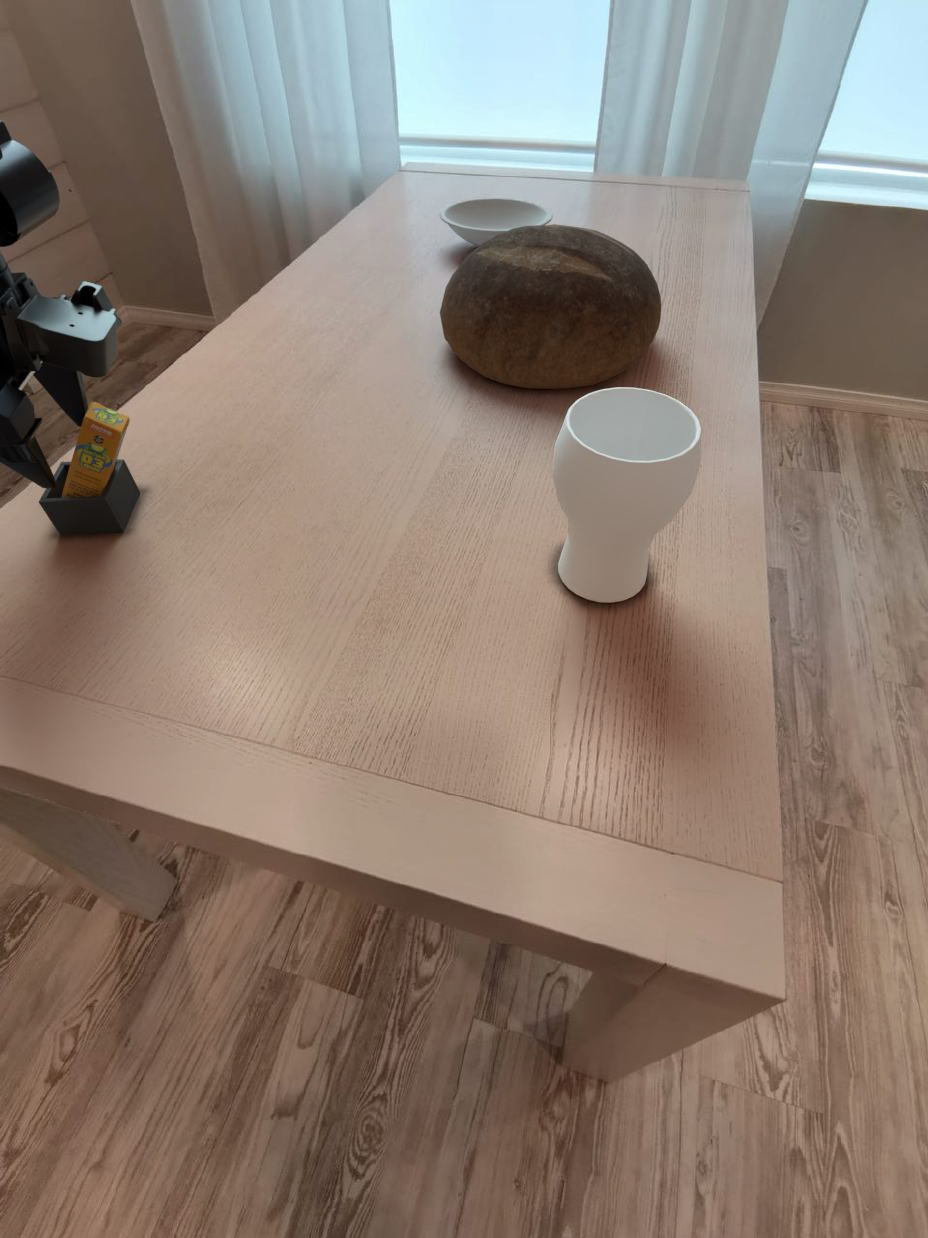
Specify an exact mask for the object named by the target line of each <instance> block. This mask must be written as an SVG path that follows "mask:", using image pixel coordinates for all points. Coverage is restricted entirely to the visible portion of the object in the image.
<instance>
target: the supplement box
mask: <svg viewBox="0 0 928 1238" xmlns="http://www.w3.org/2000/svg"><path fill="white" fill-rule="evenodd" d="M130 421H131V420H130V416H129V415H126V414H124V413H120V412H117V411H116V410H113V409H111V408H109V407H106V406H104V405H103V404H101V403H99V402H96V401H91V402H90V403H89V404H88V410H87V412H86V414H85V417H84V419H83V422H82V426H81V427H80V429H79V433H78V437H77V440H76V443H75V446H74V449H73V454H72V457H71V461H70V462H71V464H70V468H69V471H68V475H67V478H66V482H65V486H64V489H63V493H62V497H61V498H69V497H90V496H102V494H103V492H104V490H105V488H106V485H107V483H108V481H109V479H110V477H111V475H112V473H113V470H114V467H115V464H116V461H117V460H118V458H119V454H120V451H121V448H122V444H123V442H124V439H125V435H126V433H127V429H128V427H129V424H130Z"/></svg>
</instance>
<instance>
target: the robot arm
mask: <svg viewBox="0 0 928 1238" xmlns="http://www.w3.org/2000/svg"><path fill="white" fill-rule="evenodd" d="M60 203H61V201H60V190H59V188H58V184H57V181H56V179H55V177H54V175H53V173H52V172H51V171H50V170H48V169H47V167H46V166H45V165H44V163H43V162H42V161H41V160H40V158H38V156H37V155H36V154H35V153H34V152H33V151H31V150H30V149H29V148H27V146H25V145H23V144H22V143H20V142H19V141H17V140H14V139H12V136H11V134H10V132H9V129H8V128H7V125H6V123H5V122H3V121H2V120H0V248H5V247H10V246H13V245H14V244H16V243H17V242H19V241H20V240H21V239H24V237H26V236H27V235H28V234H30V233H31V232H33V231H34V230H36V229H37V228H38V227H40V226H42V225H43V224H44V223H46V222H47V221H49V220H50V219H52V218H53V217H54V216H56V214H57V212H58V211H59V208H60ZM117 311H118V310H117V309H116V308H114V306H113V304H112V302H111V300H110V298H109V296H108V295H107V292H106V291H105V289H104V287H103V286H102V285H100V284H96V283H92V282H89V281H86V280H82V281H81V283H80V284H79V285H78V287H76V289H75V291H74V292H73V294H72V296H67V295H66V294H63V293H61V294H60V295H58V296H55V297H54V296H53V297H48V296H43V295H42V294H41V292H40V291H39V290H38V288H37V286H36V284H35V282H34V280H33V279H32V278H30V277H28V276H27V274H26V272H25V271H23V272H22V271H21V272H19V271H18V272H12V270H11V268H10V266H9V264H8V263H7V261H6V259H5V257H4V255H3V253H2V252H1V250H0V464H2V465H4V466H5V467H7V468H9V469H11V470H12V471H13V472H15V473H17V474H19V475H20V476H22V477H24V478H26V479H27V480H29V481H31V482H32V483H34V484H36V485H37V486H39V487H41V488H42V489H46V488H55V487H56V485H57V484H56V481H55V478H54V473H53V471H52V469H51V467H50V464H49V463H48V461H47V459H46V456H45V454H44V452H43V450H42V448H41V446H40V444H39V442H38V440H37V437H36V433H37V431H38V430H39V428H40V427H41V424H42V422H43V417H36V414H35V406H34V404H33V402H32V401H31V399H30V397H29V395H28V393H26V391H23V389H24V388H25V387H26V385H27V384H28V382H29V381H30V380H31V379H32V377H34V378H35V379H36V381H37V382H38V383H39V384H40V385H41V386H42V387H43V389H44V390H45V391H46V392H47V394H48V395H49V396H50V397H51V399H53V401H54V402H55V403H56V404H57V405H58V406H59V407H60V409H61V410H62V411H63V412H64V413H65V414H66V416H68V418H70V420H71V421H72V422H73V423H74V424H75V425H76V426H77V427H79V428H81V426H82V422H83V419H84V417H85V414H86V412H87V410H88V408H89V404H88V398H87V392H86V385H85V379H84V376H85V377H86V376H87V377H89V378H90V377H91V378H95V379H96V378H104V377H106V376H107V375H108V374H109V372H110V370H111V366H112V365H113V363H114V361H115V359H117V358H118V357H119V340H118V339H119V337H118V331H119V330H120V329H121V327H122V324H123V321H122V319H121V317H120V316H118V312H117Z"/></svg>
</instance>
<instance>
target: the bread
mask: <svg viewBox="0 0 928 1238" xmlns="http://www.w3.org/2000/svg"><path fill="white" fill-rule="evenodd" d="M441 301H442V302H441V306H440V310H439V316H440V323H441V328H442V332H443V333H442V334H443V336H444V340H445V341H446V342H447V344H448V345H449V347H450V348H451V350H452V351H453V352H454V354H455V355H456V356H457V358H458V359H459V360H461V362H463V363H464V364H465V365H467V366H468V368H470V369H472V370H473V371H474V372H476V373H478V374H479V375H481V376H482V377H484V378H487V379H489V380H492V381H495V382H498V383H499V384H503V385H508V386H514V387H519V388H524V389H536V390H537V389H539V390H559V389H561V390H563V389H578V388H583V387H588V386H594V385H597V384H600V383H602V382H605V381H607V380H610V379H612V378H614V377H616V376H619V375H621V374H623V373H624V372H625V371H626V370H628V369H630V368H631V367H632V366H633V365H634V364H636V363H637V362H639V361H640V360H641V359H642V358H643V357H644V355H645V354H646V353H647V352H648V350H649V349H650V347H651V345H652V343H653V341H654V339H655V337H656V335H657V332H658V330H659V329H660V328H659V327H660V323H661V317H662V297H661V293H660V289H659V285H658V282H657V280H656V278H655V276H654V274H653V272H652V271H651V269H650V267H649V265H648V264H647V263H646V261H645V260H644V259H643V258H642V257H641V256H640V255H639V254H638V253H637V252H636V250H634V249H632V248H631V247H629V246H628V245H627V244H625V243H623V242H621V241H619V240H618V239H615V238H614V237H611V236H610V235H608V234H605V233H603V232H602V231H601V232H600V231H599V230H595V229H590V228H586V227H580V226H573V225H564V224H556V223H553V224H546V225H543V226H542V225H535V226H523V227H519V228H514V229H511V230H509V231H506V232H504V233H501V234H499V235H497V236H495V237H493V238H491V239H489V240H488V241H486V242H484V243H482V244H481V245H480V246H479V245H478V246H477V247H476V248H475V249H474V250H473V251H471V252H470V253H469V254H468V255H467V256H466V257H465V259H464V260H463V261H462V262H461V263H460V264H459V266H458V267H457V268H456V270H455V271H454V272H453V273H452V275H451V277H450V278H449V281H448V282H447V284H446V286H445V288H444V293H443V297H442V300H441Z"/></svg>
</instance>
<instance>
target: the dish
mask: <svg viewBox="0 0 928 1238" xmlns="http://www.w3.org/2000/svg"><path fill="white" fill-rule="evenodd" d="M438 215H439V218H440V220H441V221H442V222H443V223H445V224H447V225H448V226H449V228H450V229H451V230H452V231H453V232H454V233H455V234H456V235H457V236H459V237H460V238H461V239H463V240H464V241H466V242H468V243H470V244H473V245H475V246H478V247H479V246H480V245H481V244H482V243H484V242H486V241H488V240H489V239H491V238H493V237H495V236H497V235H499V234H501V233H504V232H506V231H509V230H511V229H514V228H519V227H523V226H535V225H542V226H543V225H549V223H550V222H551V221H552V220H553V217H554V215H553V212H552V210H551V209H549V208H548V207H547V206H544V205H542V204H541V203H537V202H534V201H529V200H525V199H520V198H511V197H493V196H492V197H475V198H469V199H468V198H467V199H463V200H458V201H455V202H451V203H449V204H447V205H444V206H443V207H442V208H441V209H440V210H439V213H438Z"/></svg>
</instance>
